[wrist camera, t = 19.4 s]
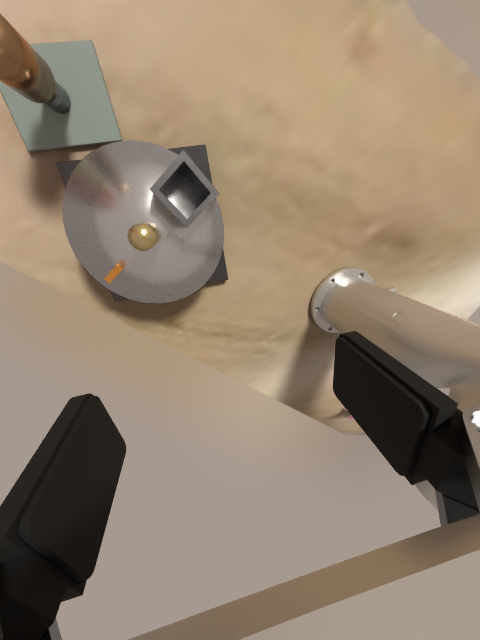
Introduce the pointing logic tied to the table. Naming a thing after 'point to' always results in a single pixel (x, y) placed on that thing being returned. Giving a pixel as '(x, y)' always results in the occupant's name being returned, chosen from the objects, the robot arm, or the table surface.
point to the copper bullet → (29, 71)
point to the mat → (85, 94)
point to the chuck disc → (143, 221)
